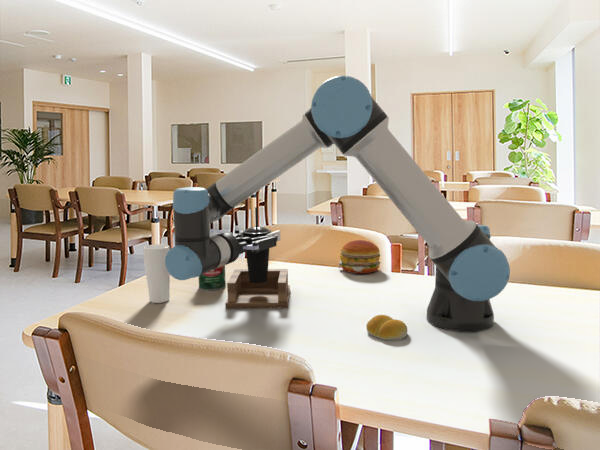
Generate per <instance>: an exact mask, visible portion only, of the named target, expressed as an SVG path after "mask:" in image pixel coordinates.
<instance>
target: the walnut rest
mask: <svg viewBox="0 0 600 450" xmlns="http://www.w3.org/2000/svg"><path fill="white" fill-rule="evenodd" d="M288 270H289V269H288V268H268V277H267V281H266V282H264V283H251V282H250V281H249V274H248V268H245V269H243V268H242V269H241V268H239V269H238V268H237V269H234V270H233V272H232V274H231V276H230V277H229V280H228V281H227V282H226V287H227V288H226V289H227V299H226V300H225V303H224V304H225V305H224V306H225V309H229V310H231V309H232V310H233V309H236V310H238V309H240V310H242V309H244V310H245V309H289V300H290V293H291V292H290V291H291V285H290V284H289V273H288V272H289V271H288Z"/></svg>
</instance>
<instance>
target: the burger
mask: <svg viewBox="0 0 600 450" xmlns="http://www.w3.org/2000/svg"><path fill="white" fill-rule="evenodd" d="M380 251H381V250H380V248H379V247H378V246H377V244H375V243H373V242H371V241H369V240H363V239H362V240H361V239H358V240H351V241H349V242H347V243H345V244H344V245H343V246H342V247H341V249H340V254H339V258H340V260H339V262H338V268H339V269H341V268H342V270H343V271H345V272H348V273H352V274H370V273H373V272H376V271H378V269H379V268H380V264H381V263H382V262H381V261H380V257H381V254H380V253H381V252H380Z"/></svg>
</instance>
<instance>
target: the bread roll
mask: <svg viewBox="0 0 600 450" xmlns="http://www.w3.org/2000/svg"><path fill="white" fill-rule="evenodd" d="M365 326H366V331H367V333H368V335H371V336H372V337H375V338H377V339H379V340H382V341H398V340H399V341H400V340H402V339H404V338H406V337H407V335H408V326H407V324H406V323H405V322H404V321H403V320H401V319H394V318H393V317H391V316H390V315H387V314H379V315H375V316H373V317H372V318H370V320H369V321H367V323H366V325H365Z"/></svg>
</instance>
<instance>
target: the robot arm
mask: <svg viewBox="0 0 600 450" xmlns="http://www.w3.org/2000/svg"><path fill="white" fill-rule="evenodd" d="M389 118H390V117H389V116H388V115H387V114H386V112H385V111H384V110H383V109H382V107H381V106H380V105H379V104H378V103H377V102H376V100H375V99H374V98H373V96H372V95H371V92H370V90H369V88H368V87H367V85H365V83H363V82H362V81H361V80H359V79H358V78H355V77H353V76H348V75H338V76H334V77H330V78H329V79H327V80H325V81H324V82H322V84H320V85H319V86H318V88H317V89H316V91H315V92H314V95H313V96H312V100H311V105H310V108H309V109H307V110H306V111H305V112H303V113H302V118H301V120H300V121H299V122H297V123H296V124H295V125H293V126H292V127H290V128H289V129H287V130H286V131H285V132H283V133H282V134H280V135H279V136H278V137H277V138H275V139H273V140H272V141H271V142H269V143H268V144H266V146H263V147H262V148H261V149H260V150H258V151H257V152H255V153H253V155H251V156H250V157H249V158H247V159H246V160H244V161H243V162H242V163H240V164H239V165H238V166H236V167H235V168H233V169H232V170H231V171H229V172H228V173H226V174H225V175H224V176H222V177H221V178H219V179H218V180H217V181H216V182H214V183H212V184H211V185H209V186H208V187H207V188H205V187H202V186H201V187H200V186H198V187H196V186H191V187H189V186H188V187H187V186H185V187H178V188H176V189H175V190H174V191H173V193H172V194H173V195H172V197H173V198H172V211H173V212H172V213H173V227H174V246H173V247H172V248H171V247H170V248H169V249H170V250H169V251H168V252H167V255H166V258H165V265H166V269H167V271H168V272H169V274H170V277H173V278H174V279H175V280H177V281H187V280H191V279H195V278H199V277H198V276H200V275H201V274H204V273H206V272H208V271H212V272H213V271H214V269H216V268H219V267H221V266H224V265H225V266H227V265H229V264H232V263H234V262H235V261H237V260H238V258H239V257H240V255H241V254H244V253H246V252H248V251H251V250H252V252H253V253H258V252H259V251H262V250H265V249H268V248H269V249H272V248H275V247H277V244H278V243H277V242H280V241H281V230H279V229H278V230H275V231H271V233H269V234H266V236H262V237H256V238H249V237H244V234H243V231H240V230H239V229H235V230H234V233H233V232H221V233H218V234H214V235H211V230H210V228H211V227H210V224H212V223H214V222H217V221H219V220H220V219H222V218H223V217H224V216H225V215H226V214H227V213H229V212H230V211H232V210H233V209H234V208H235V207H237V206H239V205H240V204H242V203H243V202H244V201H246V200H247V199H249V198H251V197H252V196H253V195H254V194H256V193H257V192H258V191H259V192H260V190H262V189H263V188H264V187H266V186H268V185H269V184H270V183H272V182H273V181H274V180H276V179H277V178H279V177H280V176H282V175H283V174H284V173H286V172H287V171H288V170H290V169H291V168H293V167H295V166H296V165H298V164H299V163H301V162H302V161H303V160H304V159H306V158H308V157H309V156H310V155H312V154H314V153H315V152H316V151H317V150H319V149H321V148H323V149H328V148H330V147H331V146H333V145H335V147H336V148H337V149H338V150H339V151H340V152H341V154H342V155H343V156H345V157H353V158H355V159H356V160H357V161H358V162H359V164H360V165H361V166H362V167H363V169H365V170H366V172H367V174H369V176H370V177H371V178H372V179H373V181H374V182H375V183H376V184H377V185H378V187H380V189H381V190H382V191H383V192H384V194H385V195H386V196H387V197H388V199H390V201H391V202H392V203H393V204H394V206H395V207H396V209H398V210H399V212H400V213H401V214H402V215H403V216H404V218H405V219H407V221H408V222H409V224H410V225H411V226H412V227H413V228H414V229H415V231H416V233H418V234H419V236H420V237H421V238H422V239H423V240H424V242H425V243H426V244H427V245H428V256H427V257H428V258H429V259H430V260H431V262H432V263H433V264H434V265H435V284H434V290H433V292H432V295H431V297H430V300H429V302H428V305H427V309H426V321H428V322H429V323H430V324H431V325H433V326H435V327H437V328H440V329H444V330H449V331H454V332H463V333H464V332H465V333H468V332H470V333H471V332H481V331H487V330H489V329H491V328H492V327H493V326H494V322H495V313H494V310H493V307H492V304H491V299H492V298H496V297H497V296H498V295H500V293H501V292H503V291H504V290H505V288H506V286H507V285H508V283H509V281H510V276H511V267H510V263H509V260H508V258H507V256H506V254H505V253H504V252H503V251H502V250H501V249H499V248H498V247H497V246H496V245H495V244H494V243H493V242H492V240H491V236H492V234H491V229H490V227H489V226H487V225H484V224H477V223H476V221H474V220H464V219H463V218H462V217H461V215H460V214H459V213H458V211H456V209H455V208H454V207H453V205H451V203H450V202H449V201H448V199H447V198H446V197H445V196H444V195H443V194H442V192H441V191H440V190H439V189H438V187H436V185H435V184H434V183H433V181H431V178H429V177H428V176H427V174H426V173H425V172H424V170H422V168H421V167H420V166H419V165H418V163H417V162H416V161H415V160H414V158H413V157H412V156H411V155H410V154H409V153H408V151H407V150H406V149H405V148H404V146H403V144H401V143H400V142H399V140H398V139H397V138H396V136H395V135H394V134H393V133H392V132H391V131H390V130H389V120H390V119H389ZM245 240H246V241H245Z"/></svg>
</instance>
